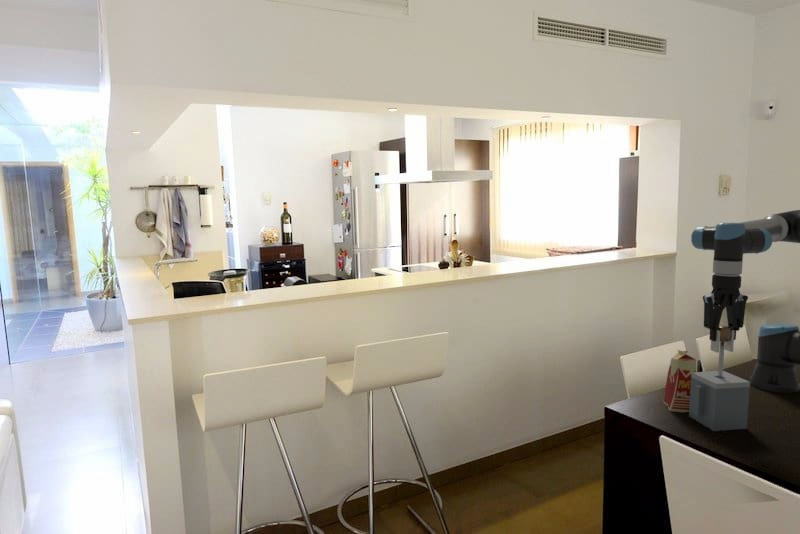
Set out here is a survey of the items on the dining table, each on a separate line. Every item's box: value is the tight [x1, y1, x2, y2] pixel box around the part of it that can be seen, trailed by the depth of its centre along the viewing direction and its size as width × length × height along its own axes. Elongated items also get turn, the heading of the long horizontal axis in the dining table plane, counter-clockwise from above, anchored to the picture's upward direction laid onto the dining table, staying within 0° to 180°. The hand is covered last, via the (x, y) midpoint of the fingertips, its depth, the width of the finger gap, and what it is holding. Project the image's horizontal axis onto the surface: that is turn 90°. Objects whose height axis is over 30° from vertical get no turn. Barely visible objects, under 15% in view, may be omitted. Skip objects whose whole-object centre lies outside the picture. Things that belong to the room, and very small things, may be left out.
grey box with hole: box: [688, 370, 751, 432], centre depth 168 cm, size 13×11×14 cm
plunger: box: [717, 324, 731, 378], centre depth 167 cm, size 8×8×24 cm
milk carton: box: [662, 349, 697, 413], centre depth 181 cm, size 9×9×20 cm
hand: (721, 350), depth 167 cm, fingers closed on plunger, 4 cm apart
